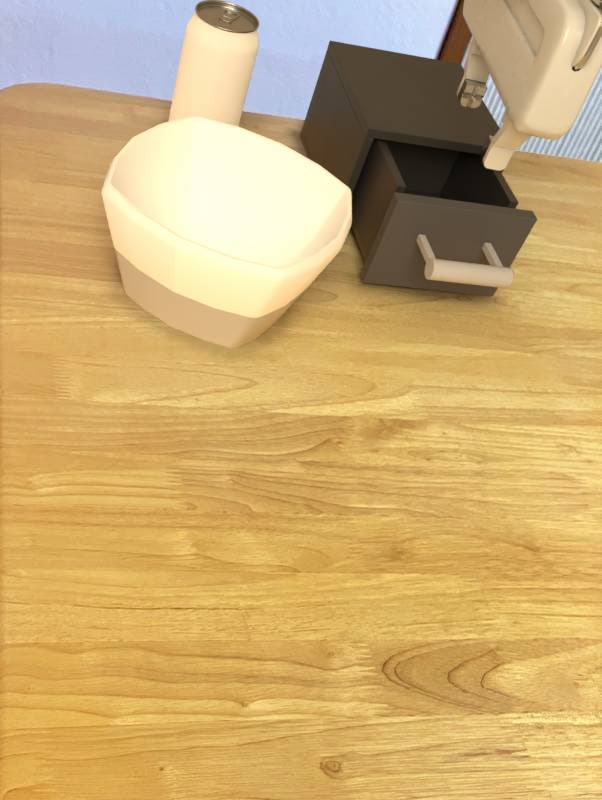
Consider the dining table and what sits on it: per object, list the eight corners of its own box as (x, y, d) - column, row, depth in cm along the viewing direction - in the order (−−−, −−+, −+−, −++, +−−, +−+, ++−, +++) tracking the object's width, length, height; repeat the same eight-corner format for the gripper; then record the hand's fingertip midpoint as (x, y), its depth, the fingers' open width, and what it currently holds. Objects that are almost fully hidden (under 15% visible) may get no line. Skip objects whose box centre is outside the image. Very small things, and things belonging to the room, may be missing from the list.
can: (154, 150, 82) (179, 14, 73) (177, 122, 86) (204, -11, 77) (218, 175, 82) (252, 42, 73) (238, 146, 86) (273, 16, 77)
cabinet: (464, 245, 84) (513, 150, 76) (330, 229, 81) (368, 128, 73) (420, 156, 93) (460, 63, 86) (298, 138, 90) (329, 40, 82)
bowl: (343, 289, 75) (384, 189, 68) (258, 403, 64) (297, 299, 57) (163, 200, 78) (184, 94, 70) (51, 295, 67) (63, 182, 59)
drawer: (511, 334, 75) (560, 256, 69) (377, 321, 72) (415, 238, 66) (446, 202, 86) (482, 125, 80) (327, 186, 83) (356, 105, 77)
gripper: (665, 11, 53) (547, 214, 64) (573, -106, 66) (487, 80, 76) (570, -12, 52) (466, 198, 63) (495, -127, 65) (419, 65, 75)
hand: (477, 132), depth 70 cm, fingers open, 8 cm apart
